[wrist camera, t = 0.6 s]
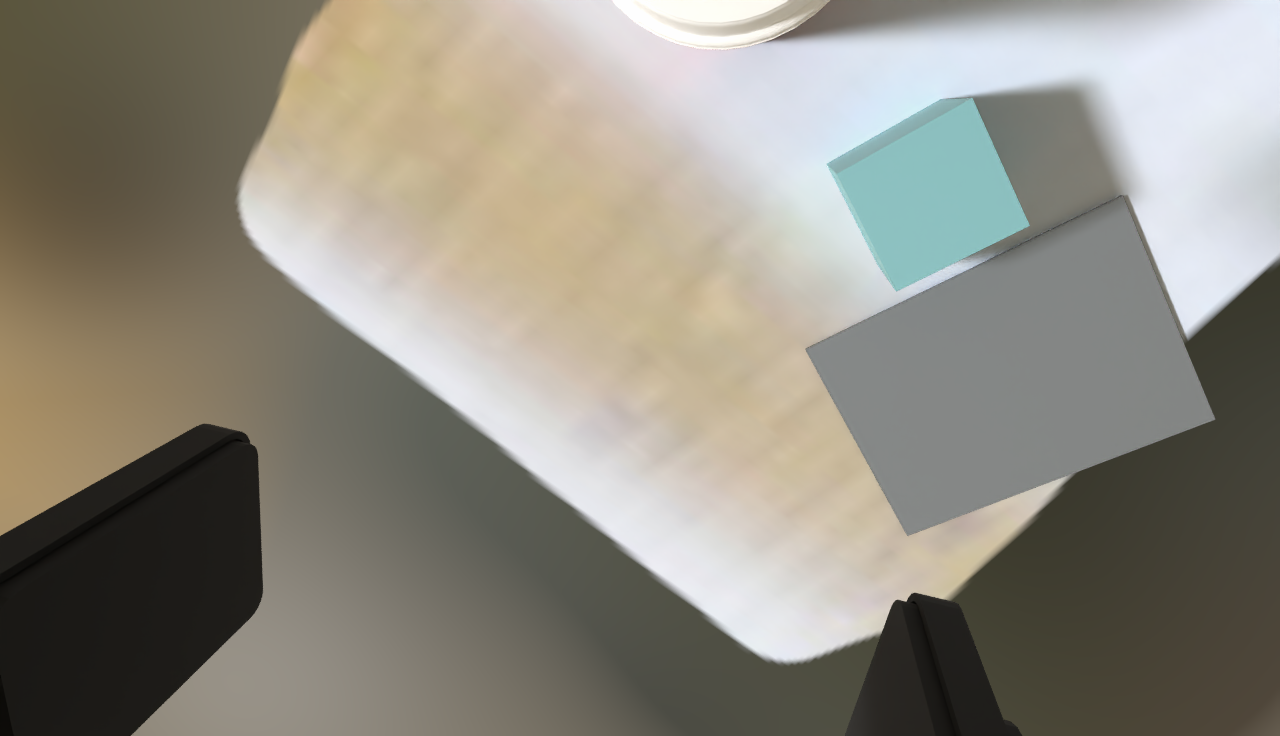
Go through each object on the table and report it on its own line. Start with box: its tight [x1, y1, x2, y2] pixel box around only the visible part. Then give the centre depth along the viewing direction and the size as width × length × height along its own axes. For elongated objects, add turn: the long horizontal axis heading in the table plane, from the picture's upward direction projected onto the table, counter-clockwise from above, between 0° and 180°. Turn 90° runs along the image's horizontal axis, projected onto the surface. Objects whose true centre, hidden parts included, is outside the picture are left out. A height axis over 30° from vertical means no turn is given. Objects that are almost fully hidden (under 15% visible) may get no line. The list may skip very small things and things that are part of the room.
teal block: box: [827, 98, 1030, 291], centre depth 28 cm, size 5×5×5 cm
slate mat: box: [806, 196, 1215, 536], centre depth 32 cm, size 14×11×1 cm
